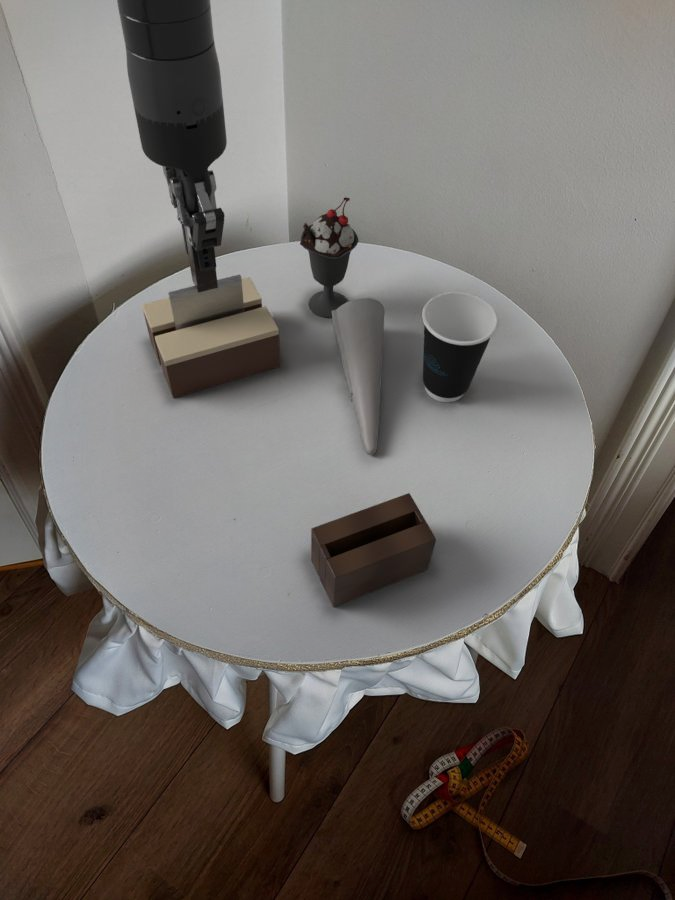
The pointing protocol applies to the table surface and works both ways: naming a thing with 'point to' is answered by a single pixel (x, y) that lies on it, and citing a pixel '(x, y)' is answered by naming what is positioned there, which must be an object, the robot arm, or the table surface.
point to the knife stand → (371, 549)
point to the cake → (213, 344)
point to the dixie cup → (454, 342)
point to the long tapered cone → (362, 361)
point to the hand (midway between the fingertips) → (201, 261)
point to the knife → (206, 297)
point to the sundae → (328, 257)
